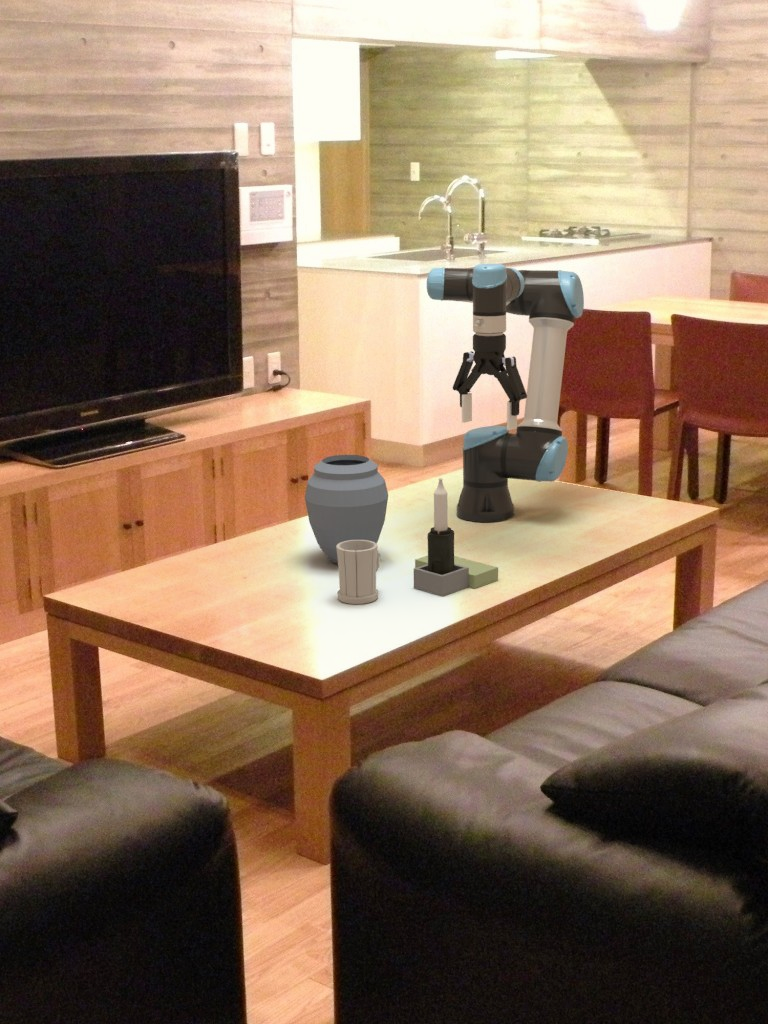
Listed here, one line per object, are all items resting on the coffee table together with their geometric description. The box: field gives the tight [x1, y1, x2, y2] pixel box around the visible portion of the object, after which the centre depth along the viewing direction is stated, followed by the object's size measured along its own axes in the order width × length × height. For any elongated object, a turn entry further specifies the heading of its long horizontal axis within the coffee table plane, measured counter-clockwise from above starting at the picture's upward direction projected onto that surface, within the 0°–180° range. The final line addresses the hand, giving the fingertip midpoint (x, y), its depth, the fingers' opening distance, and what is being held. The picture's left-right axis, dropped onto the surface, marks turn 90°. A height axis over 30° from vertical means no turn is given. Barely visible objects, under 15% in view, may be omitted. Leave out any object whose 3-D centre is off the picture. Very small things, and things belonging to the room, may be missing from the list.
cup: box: [336, 540, 381, 605], centre depth 298 cm, size 10×9×12 cm
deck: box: [413, 555, 499, 597], centre depth 310 cm, size 18×17×4 cm
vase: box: [304, 454, 389, 565], centre depth 323 cm, size 20×20×24 cm
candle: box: [427, 477, 455, 575], centre depth 302 cm, size 5×5×25 cm
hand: (489, 425), depth 318 cm, fingers open, 13 cm apart
